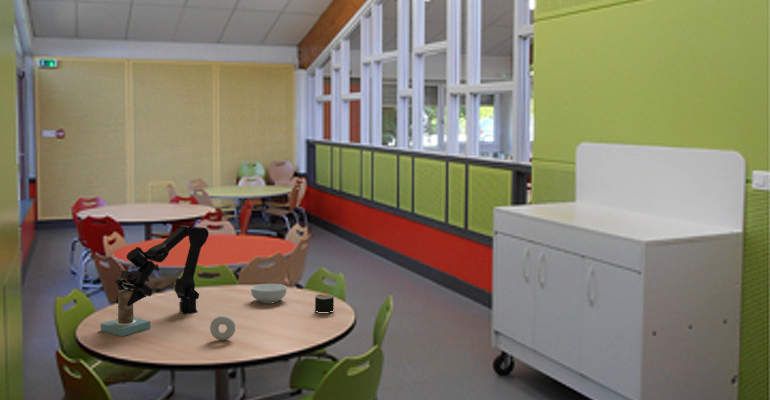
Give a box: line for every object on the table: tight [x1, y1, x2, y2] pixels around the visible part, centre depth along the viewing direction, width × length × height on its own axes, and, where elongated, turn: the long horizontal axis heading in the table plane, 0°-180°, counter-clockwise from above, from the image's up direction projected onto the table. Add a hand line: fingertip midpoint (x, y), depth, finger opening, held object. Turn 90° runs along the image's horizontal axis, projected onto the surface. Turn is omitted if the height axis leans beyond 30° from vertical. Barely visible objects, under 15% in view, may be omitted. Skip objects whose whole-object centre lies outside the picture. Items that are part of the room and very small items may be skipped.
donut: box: [209, 315, 236, 341], centre depth 290 cm, size 10×4×10 cm, turn 95°
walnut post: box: [117, 289, 134, 324], centre depth 303 cm, size 6×6×13 cm
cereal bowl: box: [250, 283, 287, 304], centre depth 351 cm, size 17×17×7 cm
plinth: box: [100, 316, 152, 337], centre depth 304 cm, size 14×14×3 cm
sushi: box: [314, 292, 335, 312], centre depth 334 cm, size 8×8×8 cm
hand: (122, 304), depth 302 cm, fingers open, 7 cm apart
